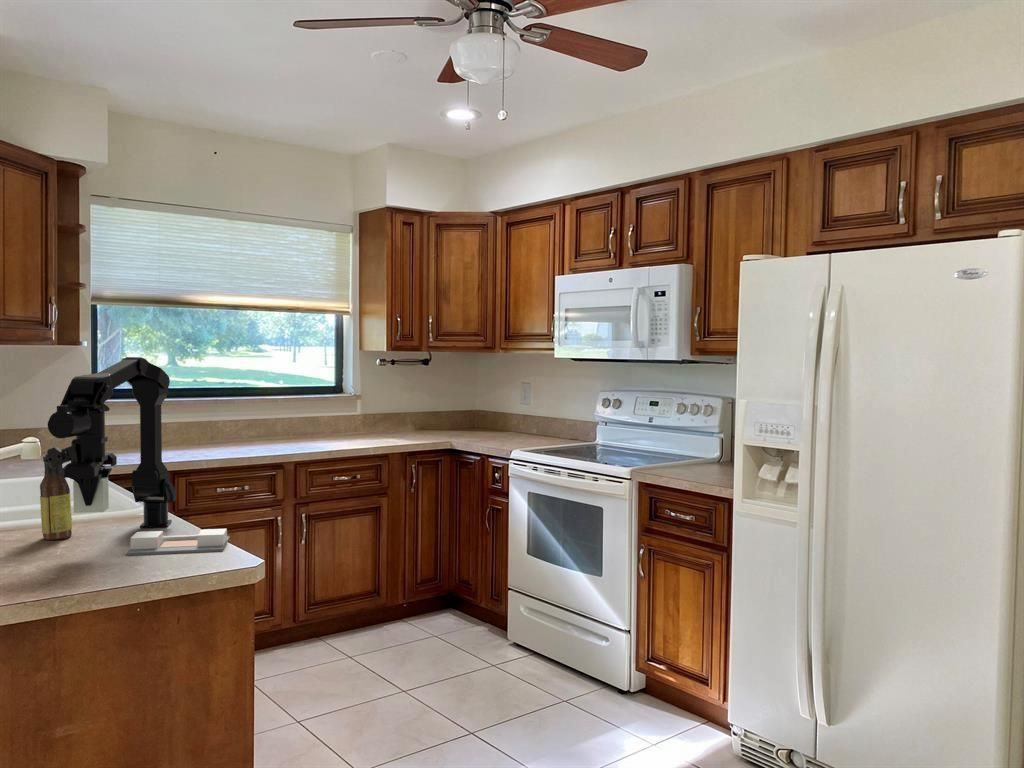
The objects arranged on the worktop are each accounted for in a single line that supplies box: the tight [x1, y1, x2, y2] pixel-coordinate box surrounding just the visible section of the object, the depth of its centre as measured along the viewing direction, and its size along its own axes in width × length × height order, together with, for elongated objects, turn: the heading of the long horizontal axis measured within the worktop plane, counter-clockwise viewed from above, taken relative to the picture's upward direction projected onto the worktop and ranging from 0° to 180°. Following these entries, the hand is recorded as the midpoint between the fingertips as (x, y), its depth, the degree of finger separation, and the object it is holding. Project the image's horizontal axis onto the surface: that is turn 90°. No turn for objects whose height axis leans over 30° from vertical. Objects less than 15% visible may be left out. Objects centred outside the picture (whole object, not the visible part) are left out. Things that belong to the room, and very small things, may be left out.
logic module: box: [72, 476, 110, 514], centre depth 175 cm, size 4×6×7 cm, turn 103°
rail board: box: [125, 528, 230, 556], centre depth 181 cm, size 12×20×3 cm, turn 103°
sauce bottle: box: [39, 454, 73, 541], centre depth 188 cm, size 7×6×20 cm
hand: (91, 503), depth 175 cm, fingers closed on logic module, 4 cm apart
